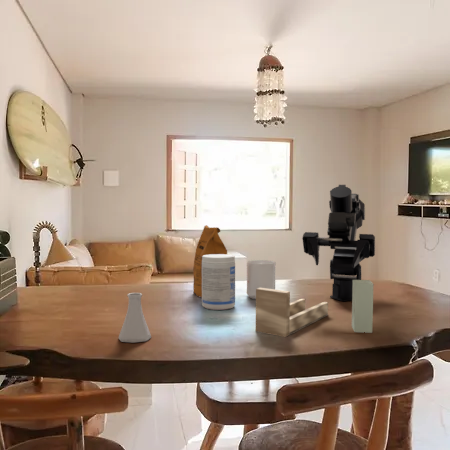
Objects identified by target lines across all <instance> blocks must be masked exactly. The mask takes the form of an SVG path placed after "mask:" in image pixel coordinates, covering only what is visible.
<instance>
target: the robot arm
mask: <svg viewBox="0 0 450 450" xmlns="http://www.w3.org/2000/svg"><path fill="white" fill-rule="evenodd" d="M352 192H353V190H352V189H351V188H350V187H348V186H346V184H338V186H336V187H334V188H331V189H330V191H329V195H330V197H329V198H330V200H328V201H329V202H328V203H329V210H330V212H329V214H328V221H327V227H328V228H327V230H326V231H327V236H328V237H325V236H324V237H322V236H321V237H320V235H319V232H312V231H310V232H309V231H308V232H307V231H306V232H303V234H302V238H301V239H302V244H303V252H304V253H305V254H306V255H307V254H308V255H309V256H312V258H313V260H314V263H315V266H319V262H320V247H329V248H330V250H334V252H333V256H332V259H330V263H329V278H330V280H333V283H332V294H331V295H329V296H330V298H331V299H334V300H338V301H340V302H348V301H349V302H350V301H351V302H352V290H353V280H362V265H361V264H360V262H361V261H363V260H365V259H369V258H372V257H374V256H375V255H376V236H375V235H374V234H373V233H359V235H358V238H359V239H357V240H356V238H357V231H358V229H360V228H361V227H362V226H363V223H364V221H365V220H366V207H365V205H366V204H365V203H364V202H363V201H362V200H361V199H360V195H359V194H358V193H352Z"/></svg>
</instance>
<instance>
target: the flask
mask: <svg viewBox="0 0 450 450" xmlns="http://www.w3.org/2000/svg"><path fill="white" fill-rule="evenodd" d="M126 296H127V297H128V306H127V311H126V315H125V318H124V320H123V324H122V327H121V329H120V332H119V335H118V340H119V341H120V342H123V343H132V344H134V343H141V342H148V341H149V340H150V339H151V338H152V335H151V332H150V328H149V327H148V324H147V321H146V319H145V316H144V312H143V306H142V296H143V294H142V293H141V292H130V293H127V295H126Z"/></svg>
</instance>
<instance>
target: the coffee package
mask: <svg viewBox="0 0 450 450" xmlns="http://www.w3.org/2000/svg"><path fill="white" fill-rule="evenodd" d="M219 233H221V228H219V227H209V226H208V225H204V226H203V229H202V232H201V234H200V236H199V237H200V238H199V239H198V242H197V245H196V248H195V252H194V253H195V254H194V260H193V269H192V271H193V284H192V285H193V294H195V295H196V296H197V297H198V298H201V299H202V256H203V255H208V254H228V249H227V247H226V246H225V244H224V242H223V240H222V238H221V237H220V234H219Z"/></svg>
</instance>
